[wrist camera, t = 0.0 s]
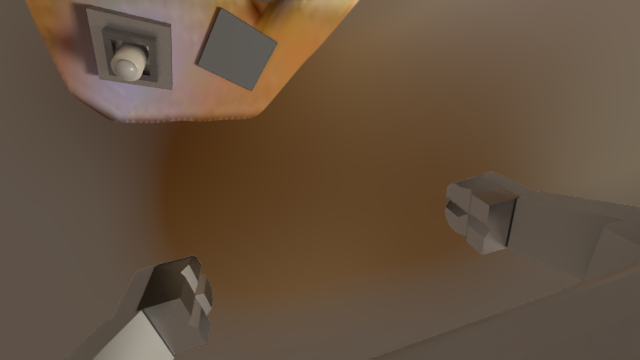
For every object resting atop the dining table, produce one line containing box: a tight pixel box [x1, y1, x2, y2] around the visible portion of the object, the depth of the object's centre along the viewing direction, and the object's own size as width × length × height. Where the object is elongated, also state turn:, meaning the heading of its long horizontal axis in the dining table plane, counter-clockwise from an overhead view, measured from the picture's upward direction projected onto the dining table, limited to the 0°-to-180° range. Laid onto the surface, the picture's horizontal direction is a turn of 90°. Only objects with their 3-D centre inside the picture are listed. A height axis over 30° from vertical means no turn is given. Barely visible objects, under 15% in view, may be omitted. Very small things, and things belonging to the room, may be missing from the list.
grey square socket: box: [86, 5, 173, 90], centre depth 47 cm, size 11×11×4 cm
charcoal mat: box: [198, 8, 277, 91], centre depth 53 cm, size 11×11×1 cm
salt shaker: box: [111, 42, 148, 81], centre depth 44 cm, size 4×4×7 cm
